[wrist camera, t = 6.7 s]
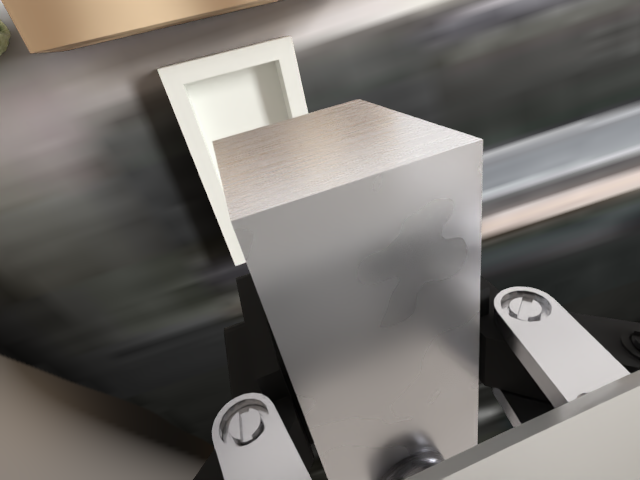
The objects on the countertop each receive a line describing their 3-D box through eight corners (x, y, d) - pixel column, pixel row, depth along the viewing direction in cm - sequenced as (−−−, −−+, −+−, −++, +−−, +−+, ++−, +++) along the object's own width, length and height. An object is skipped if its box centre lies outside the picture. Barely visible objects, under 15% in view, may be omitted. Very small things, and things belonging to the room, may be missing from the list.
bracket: (232, 253, 28) (235, 266, 26) (159, 67, 21) (157, 69, 20) (326, 222, 29) (333, 232, 28) (284, 36, 22) (291, 35, 21)
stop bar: (358, 99, 10) (511, 148, 5) (396, 354, 15) (490, 496, 10) (211, 141, 9) (235, 240, 5) (302, 392, 14) (358, 562, 10)
